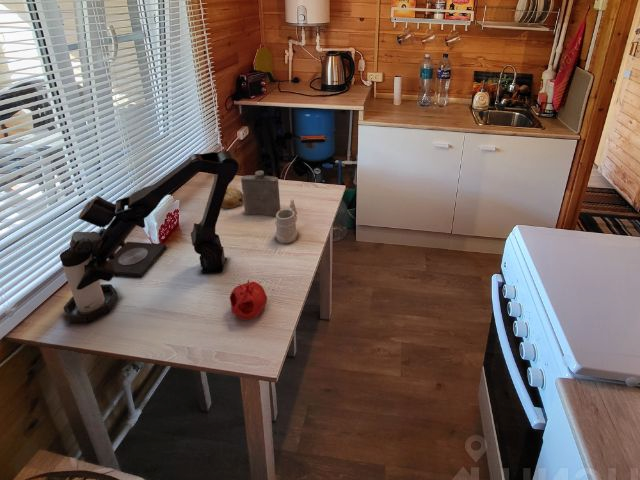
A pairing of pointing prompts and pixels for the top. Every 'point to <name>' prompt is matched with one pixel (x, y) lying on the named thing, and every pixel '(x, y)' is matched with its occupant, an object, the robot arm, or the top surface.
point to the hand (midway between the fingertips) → (78, 281)
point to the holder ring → (95, 314)
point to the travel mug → (74, 271)
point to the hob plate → (136, 258)
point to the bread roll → (232, 198)
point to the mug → (286, 224)
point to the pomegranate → (248, 300)
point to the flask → (260, 194)
